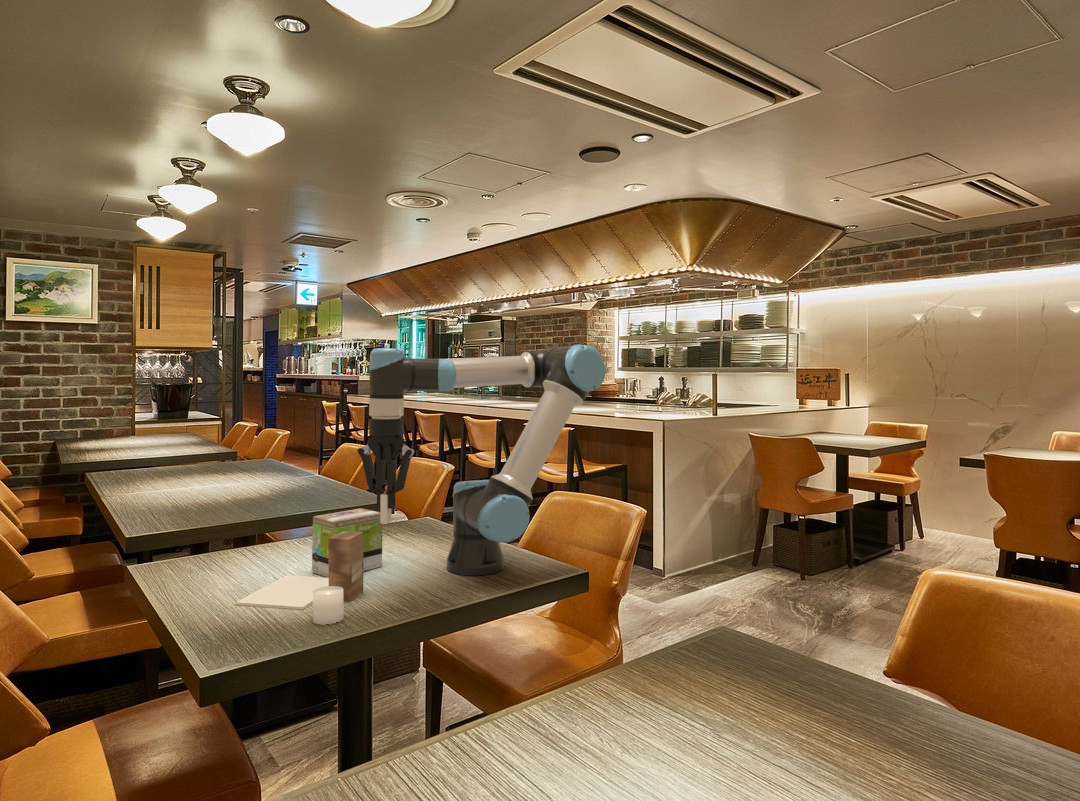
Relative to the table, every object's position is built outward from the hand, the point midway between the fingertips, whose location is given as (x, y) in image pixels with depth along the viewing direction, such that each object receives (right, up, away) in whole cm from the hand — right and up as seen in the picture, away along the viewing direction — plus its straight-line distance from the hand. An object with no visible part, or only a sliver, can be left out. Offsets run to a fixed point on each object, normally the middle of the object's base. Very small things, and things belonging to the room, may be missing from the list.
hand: (385, 522), depth 146 cm
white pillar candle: (-9, -18, -12) cm, 23 cm away
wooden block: (-10, -17, +2) cm, 20 cm away
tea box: (-15, -17, +23) cm, 32 cm away
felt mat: (-22, -17, +5) cm, 29 cm away
